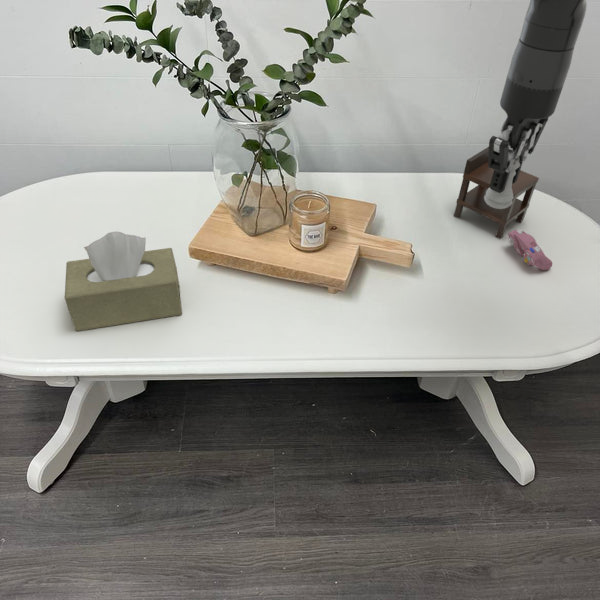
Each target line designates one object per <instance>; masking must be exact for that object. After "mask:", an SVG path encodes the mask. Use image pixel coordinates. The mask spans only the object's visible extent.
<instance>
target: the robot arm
mask: <svg viewBox="0 0 600 600" xmlns="http://www.w3.org/2000/svg"><path fill="white" fill-rule="evenodd" d="M527 7H528V8H527V11H526V13H525V17H524V20H523V25H522V27H521V30H520V31H521V32H520V35H519V38H518V42H517V43H516V47H515V49H514V51H513V54H512V57H511V61H510V64H509V67H508V71H507V75H506V78H505V82H504V86H503V90H502V93H501V96H500V101H499V104H500V107H501V109H502V110H503V111H504V112H505V114H506V116H507V117H506V118H505V120H504V122H503V123H502V125H501V128H500V135H498V136H495V135H492V136H491V137H490V139H489V141H488V147H489V155H488V167H489V168H491V169H494V172H493V176H492V179H491V183H490V189H491V190H494V191H496V192H498V193H501V192H503V191H504V190H505V186H506V183H507V180H508V177H509V174H510V170H511V168H512V165H513V163H514V160H515V158H519V163H520V167H519V168H517V169H516V170H515V172H516V175H515V176H514V177H513V181H512V184H514V183H515V182H516V181H517V179H518V175H519V172H520V170H521V168H522V166H523V163H524V162H526V160H527V159H528V155H531V154H533V152H534V150H535V147H536V145H537V143H538V142H539V139H540V137H541V135H542V133H543V131H544V129H545V127H546V124H547V122H549V118H550V117H552V116H553V114H555V112H556V108H557V106H558V103H559V99H560V97H561V95H562V90H563V88H564V85H565V82H566V79H567V76H568V74H569V70H570V68H571V67H570V66H571V64H572V60H573V55H574V50H575V47H576V44H577V41H578V38H579V35H580V33H581V30H582V26H583V23H584V20H585V17H586V12H587V0H529V5H528V6H527ZM508 157H509V160H508Z"/></svg>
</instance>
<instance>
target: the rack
mask: <svg viewBox="0 0 600 600" xmlns="http://www.w3.org/2000/svg"><path fill="white" fill-rule="evenodd" d="M488 155H489V146H487V147H486V148H484V149H482V150H481V151H479V152H477V153H476V154H474V155H472V156H470V157H469V158H467V159H466V162H465V165H464V169H463V175H462V181H461V185H460V189H459V194H458V198H457V199H456V202H455V203H456V205H455V209H454V213H453V217H455V218H456V219H459V218H461V217H462V214H463V210H464V208H466V209H469V210H470V211H473V212H475V213H476V214H478V215H481V216H483V217H484V218H487V219H488V220H491V221H492V222H493V221H494V222H495V223H497V224H499V225H498V227H497V230H496V232H495V238H497V239H499V240H501V239H503V238H504V236H505V232H506V230H507V226H508V224H510V223H511V222H512V221H513V220H515V222H517V223H519V224H522V223H523V222H524V219H525V216H526V214H527V211H528V209H529V207H530V203H531V199H532V197H533V194H534V191H535V189H536V185H537V183H538V181H539V179H540V178H539V177H538V176H536V175H533V174H532V173H528V172H526V171H524V170H521V169H520V172H519V175H518V179H517V181H516V182H515V183H514V184H512V191H513V199H512V204H511V205H510V206H509V207H507V208H505V209H497V208H493V207H491V206H489V205H487V203H486V202H485V200H484V196H485V195H486V191H487V190H488V188H490V183H491V179H492V176H493V172H494V169H491V168H489V167H488ZM470 183H474V184H476V186H475V187H473V188H471V189H470V190H469V187H470ZM523 194H524V195H523ZM522 195H523V199H522V200H521V199H519V197H520V196H522Z"/></svg>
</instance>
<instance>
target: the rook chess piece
mask: <svg viewBox="0 0 600 600" xmlns="http://www.w3.org/2000/svg"><path fill="white" fill-rule="evenodd" d="M508 160H509V157H508ZM519 167H520V163H519V158H515V160H514V163H513V165H512V168H511V170H510V174H509V177H508V180H507V183H506V186H505V190H504V191H503V192H501V193H498V192H496V191H494V190H491V189H490V188H488V190H487V191H486V195H485V196H484V200H485V202H486V203H487V205H489V206H491V207H493V208H497V209H505V208H507V207H509V206H510V205H511V204H512V199H513V191H512V181H513V177H514V176H515V175H516V172H515V170H516V169H517V168H519Z"/></svg>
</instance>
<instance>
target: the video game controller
mask: <svg viewBox="0 0 600 600" xmlns="http://www.w3.org/2000/svg"><path fill="white" fill-rule="evenodd" d="M507 236H508V240H507V241H508V243H509V244H510V245H512V246H513V247H514V249H515V251H516V253H517V254H518V256H520V257H521V256H523V259H524V260H523V261H524V263H526V264H527V265H528V266H534V267H536V268H538V269H539V270H543V271H548V270H550V269H551V268H552V267H553V261H552V259H550V258H549V257H548V256H546V254H545V253H544V250H542V248H541V247H540V246H539V244H538V243H537V241H536V239H535V237H533V235H531V234H529V233H527V232H525V231H523V229H522V228H519V229H514V230H512V231H510V232H508V233H507Z"/></svg>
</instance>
